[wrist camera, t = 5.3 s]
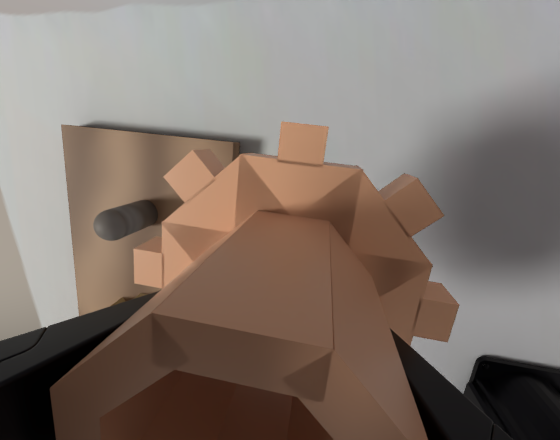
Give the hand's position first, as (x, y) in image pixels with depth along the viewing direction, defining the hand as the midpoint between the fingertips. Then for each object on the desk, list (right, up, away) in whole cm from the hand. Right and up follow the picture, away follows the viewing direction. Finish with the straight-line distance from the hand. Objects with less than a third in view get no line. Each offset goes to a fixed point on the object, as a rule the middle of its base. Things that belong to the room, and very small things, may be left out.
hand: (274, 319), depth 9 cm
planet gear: (0, +1, +3) cm, 3 cm away
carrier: (-10, -1, +16) cm, 19 cm away
